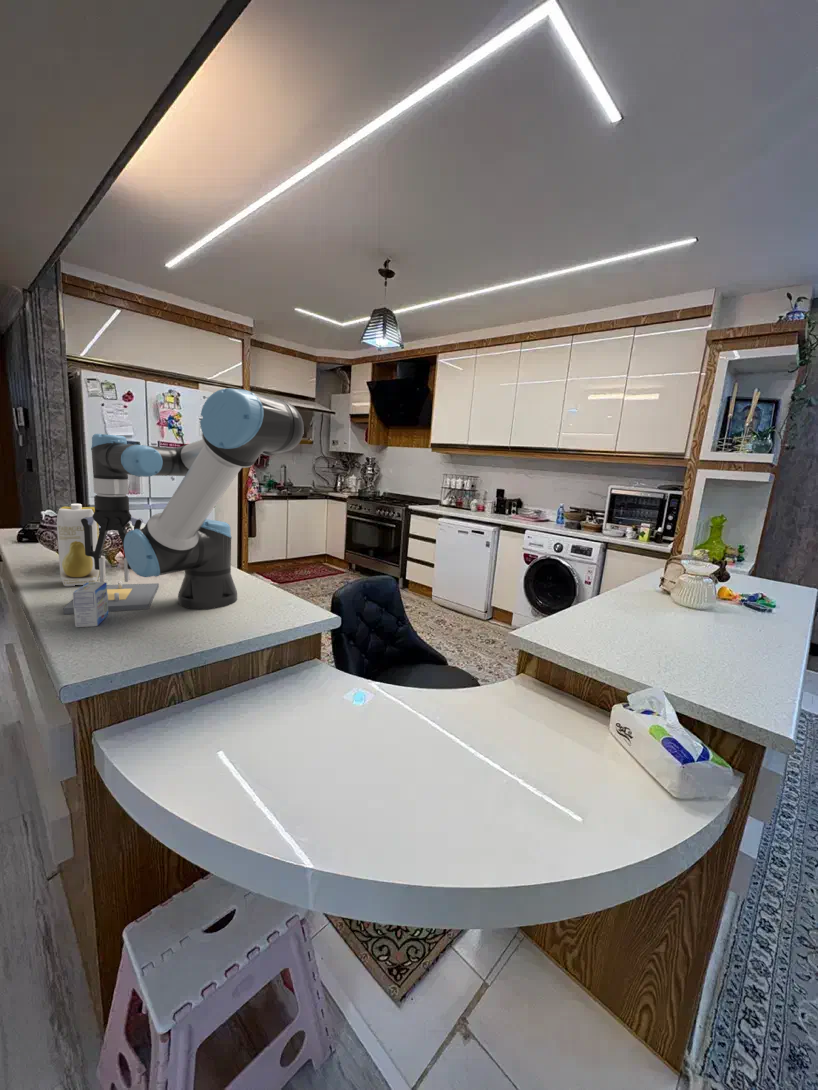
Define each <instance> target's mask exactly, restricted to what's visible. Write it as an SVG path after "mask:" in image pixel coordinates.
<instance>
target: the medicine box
mask: <svg viewBox="0 0 818 1090" xmlns="http://www.w3.org/2000/svg"><path fill="white" fill-rule="evenodd" d="M107 585H108V583H107V582H105V581H104V582H100V581H97V582H90V583H86V584H84V585H83V586H79V587H78V588H77V589H75V590H74V591H73V592H72V599H73V604H74V614H73V615H74V624H75V628H90V627H98V626H99V625H100V624H101V623H102V622H103V621H104V620H105V619H106V618H107V617H108V616H109V612H108V597H107Z"/></svg>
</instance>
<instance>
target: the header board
mask: <svg viewBox="0 0 818 1090" xmlns="http://www.w3.org/2000/svg"><path fill="white" fill-rule="evenodd" d="M159 585H160V584H159V582H156V583H128V584H127V583H126V584H124V583H123V581H117V584H107V597H108V613H109V612H121V611H122V612H123V611H135V610H136V611H139V610H148V609H149V610H150V607H151V605H152V603H153V601H154V599H155V596H156V594H157V592H158V590H159ZM63 615H74V604H73V598H72V599H71V600H70V602H68V603H67V604H66V605H65V606H64V607H63Z"/></svg>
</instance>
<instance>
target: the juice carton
mask: <svg viewBox="0 0 818 1090" xmlns="http://www.w3.org/2000/svg"><path fill="white" fill-rule="evenodd" d="M94 512H95V506H83V504H81V503H70V506H61V507H60V508H58V510H57V515H56V533H57V547H58V560H59V561H58V562H59V575H60V578H61V581H62V584H63V586H64V587H76V586H75V585H84V584H86V583H90V582H99V580H100V571H99V570H96V569H95V564H94V558H93V557H91V556H86V555H85V539H84V527H83V525H82V523H81V519H83V518H85V517H87V518H88V517H91V516H93V514H94ZM99 532H100V526H99V525H98V523H97V522H96V521H95V520H94V521H93V524H92V536H93V551H95V549H96V545H97V541H98V537H99Z"/></svg>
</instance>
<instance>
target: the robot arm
mask: <svg viewBox="0 0 818 1090" xmlns="http://www.w3.org/2000/svg"><path fill="white" fill-rule="evenodd" d="M200 416H201V417H202V419H200V421H199V423H200V429H201V433H202V434H201V437H202V439H200V440H197V441H193V442H191V443H188V444H186V445H185V444H184V445H182V446H180V447H171V446H170V447H167V446H155V445H145V444H130V443H129V444H128V441H127V438H126V436H124V435H118V434H117V435H115V434H105V433H104V434H102V433H94V434H93V435H92V436H91V446H90V447H91V448H90V451H91V462H92V476H93V477H92V478H93V480H92V481H93V493H94V494H95V495H94V497H93V500H94V501H93V502H94V507H95V512H94V514H93V516H91V517H88V518H87V517H85V518H83V519H81V523H82V525H83V527H84V539H85V555H86V556H91V557H93V558H94V564H95V569H96V570H99V571H100V575H99V582H105V581H106V580H107V578H106V573H107V572H106V556H102V555H103V549H104V546H105V541H106V538H107V534H108V532H109V531H117V533H118V535H119V537H120V541H121V544H122V546H123V552H124V555H125V556H124V558H123V571H124V572H123V573H124V577H123V578H124V583H129V581H130V580H131V578H130V577H131V576H130V570H132V571H133V572H134V573H135V574H136V575H137V576H139V577H142V578H151V577H156V578H157V577H159V576H163V575H164V576H165V575H169V574H174V573H178V572H182V571H184V577H183V579H182V582H181V586H180V588H179V591H178V593H177V601H178V602H177V604H178V605H179V606H181V607H183V608H187V609H190V610H191V609H192V610H212V609H214V610H215V609H220V608H225V607H228V606H230V605H233V604H235V603H236V602H237V600H238V590H237V588H236V585H235V583H234V579H233V576H232V571H231V570H232V569H231V567H232V562H231V560H232V534H231V531H232V529H231V526H230V524H229V523H227V522H226V521H221V520H214V519H207V518H208V517H209V516H210V514H211V513H212V511H213V510H214V508H215V506H216V505H217V504H218V503H219V501H220V500H221V498H222V497H223V495H224V494H225V493H226V491H227V489H229V486H230V485H231V484H232V482H233V481H234V480H235V478H237V475H238V474H239V472H240V471H241V470H242V469H243V468H244V469H245V468H246V469H247V468H251V467H253V465H254V464H255V463H256V461H257V459H258V458H260V456H261V455H264V456H270V457H271V456H275V455H278V454H281V453H282V454H283V453H286V452H290V451H292V450H293V449H295V448H296V447H298V445H299V444H300V443H301V441H302V439H303V436H304V433H305V432H304V431H305V426H304V425H305V424H304V421H303V418H302V417H303V416H302V415H301V414H300V412H299V411H298V410H297V408H296V407H295V406H294V405H293V404H292V403H289V402H288V401H286V400H284V399H280V398H276V397H271V396H269V395H268V396H266V395H263V394H259V393H254V392H252V391H250V390H246V389H242V388H232V387H231V388H230V387H228V388H221V389H218V390H217V391H215V392H213V393H212V394H211V395H210V396H208V397H207V399H206V400H205V402H204V404H203V406H202V409H201V412H200ZM129 475H130V476H136V477H138V478H139V477H140V478H143V477H144V478H147V477H148V478H149V477H156V476H157V477H158V476H159V477H160V476H161V477H162V476H163V477H164V476H166V477H171V476H172V477H175V476H176V477H183V478H182V480H181V482H180V483H179V485H178V486H177V488H176V489H175V491H174V493H173V494H172V496H171V497H170V499H169V500H168V502H167V504H166V505H165V507H164V509H163V510H162V511H161V512H159V513H155V514H153V515H151V516H150V518H149V519H148V520H147V522H146V524H145V525H144V527H143V528H141V526H142V524H143V522H144V521H143V519H142V518H137V517H133V516H132V514H131V511H130V497H128V495H129ZM94 520H95V521H96V522H97V523H98V525H99V537H98V541H97V545H96V549H95V551H93V536H92V524H93V521H94ZM129 522H131V525H132V526H133V529H132V530H129V531H127V529H126V526H127V525H128V524H129Z"/></svg>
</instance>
